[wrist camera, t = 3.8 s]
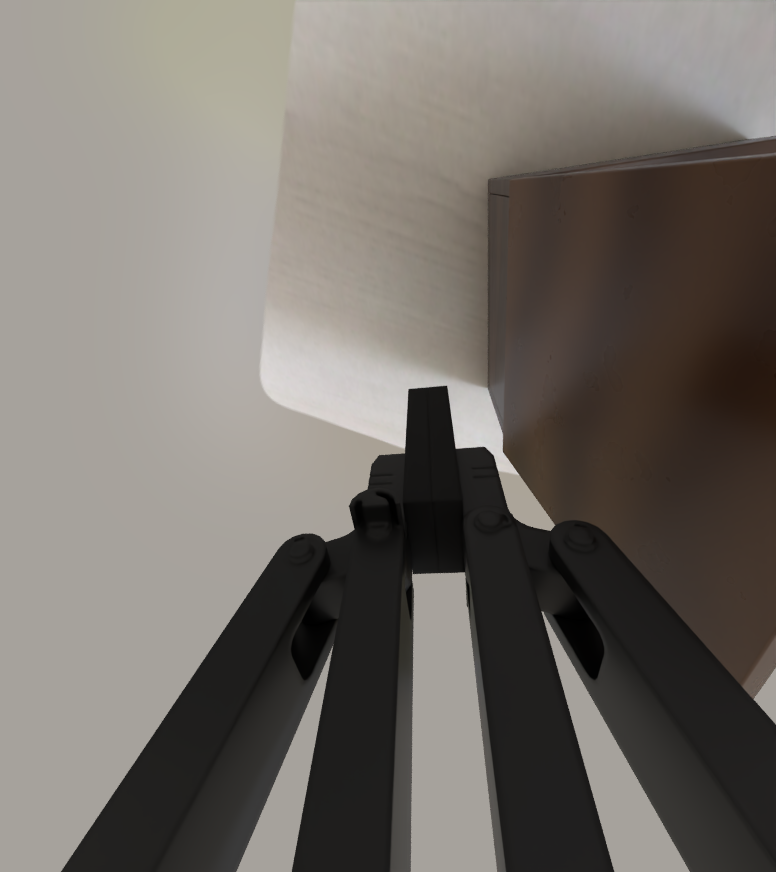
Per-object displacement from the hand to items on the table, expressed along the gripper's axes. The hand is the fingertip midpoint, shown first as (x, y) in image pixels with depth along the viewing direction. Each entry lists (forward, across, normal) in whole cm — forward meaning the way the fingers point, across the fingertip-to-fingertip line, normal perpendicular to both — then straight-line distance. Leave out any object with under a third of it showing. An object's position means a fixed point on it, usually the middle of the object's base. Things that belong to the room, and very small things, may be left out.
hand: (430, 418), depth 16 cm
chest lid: (0, +7, 0) cm, 7 cm away
